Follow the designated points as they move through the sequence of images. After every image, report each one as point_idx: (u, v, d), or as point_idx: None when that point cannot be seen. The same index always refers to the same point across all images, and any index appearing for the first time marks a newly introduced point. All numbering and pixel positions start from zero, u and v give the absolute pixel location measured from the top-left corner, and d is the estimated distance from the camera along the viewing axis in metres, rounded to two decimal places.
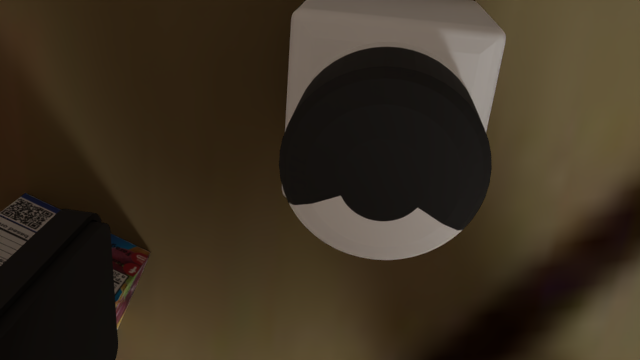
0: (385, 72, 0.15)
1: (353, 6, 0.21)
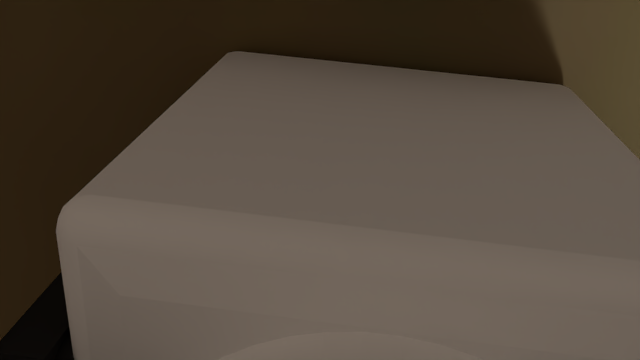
0: None
1: (271, 156, 0.07)
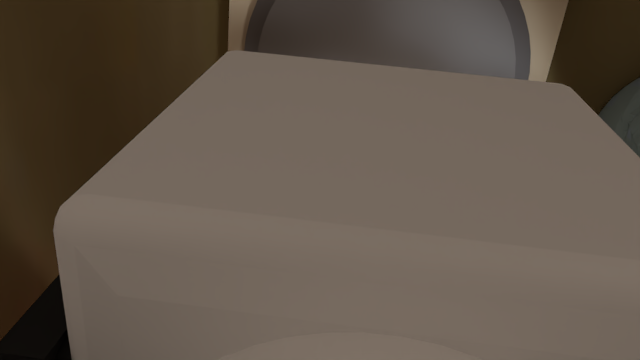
0: None
1: (270, 156, 0.07)
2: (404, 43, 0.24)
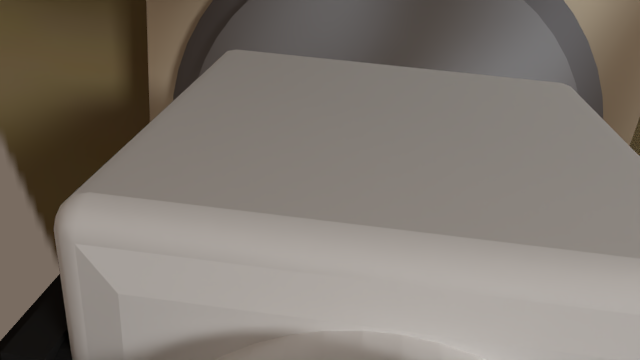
0: None
1: (271, 154, 0.07)
2: None
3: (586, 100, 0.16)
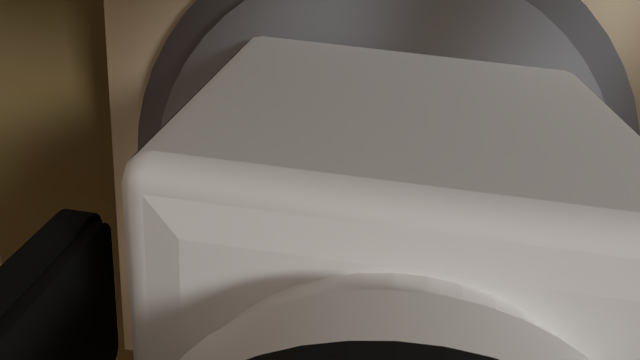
0: None
1: (306, 124, 0.08)
2: None
3: None
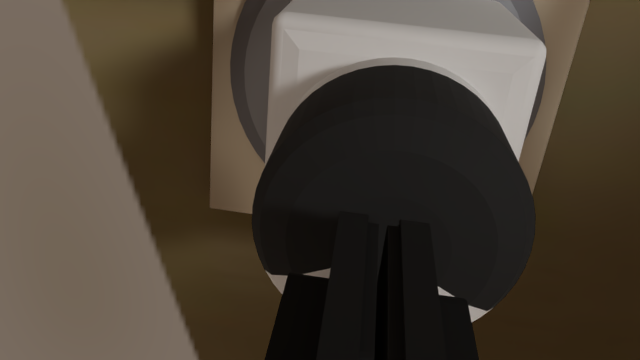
0: (395, 106, 0.11)
1: (351, 9, 0.16)
2: None
3: None
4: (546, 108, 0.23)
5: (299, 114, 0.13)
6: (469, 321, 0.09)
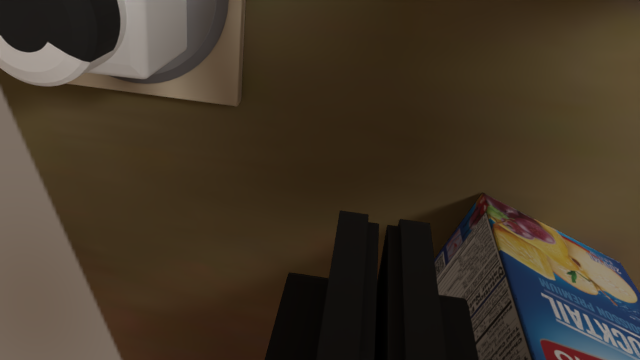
0: None
1: None
2: None
3: None
4: (234, 4, 0.37)
5: None
6: (468, 321, 0.09)
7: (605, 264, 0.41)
